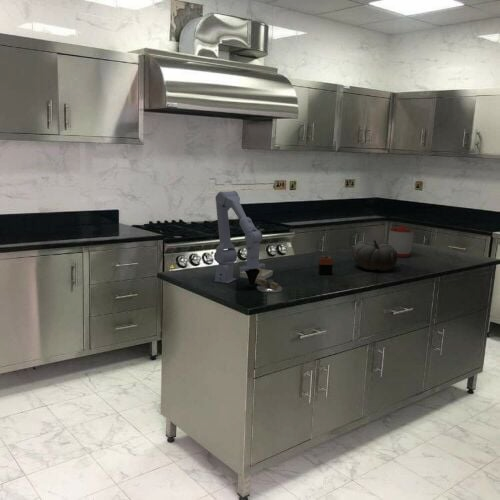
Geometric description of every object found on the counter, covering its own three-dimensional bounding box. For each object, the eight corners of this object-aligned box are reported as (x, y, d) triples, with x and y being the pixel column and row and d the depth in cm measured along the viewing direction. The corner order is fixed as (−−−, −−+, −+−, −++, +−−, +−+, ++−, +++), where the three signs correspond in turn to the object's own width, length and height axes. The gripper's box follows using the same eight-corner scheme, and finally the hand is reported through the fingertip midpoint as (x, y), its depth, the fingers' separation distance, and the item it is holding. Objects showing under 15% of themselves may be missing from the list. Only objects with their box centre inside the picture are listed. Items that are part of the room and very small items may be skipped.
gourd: (342, 259, 316) (350, 231, 312) (377, 265, 326) (386, 237, 322) (363, 274, 294) (372, 243, 290) (401, 279, 303) (410, 250, 299)
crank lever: (278, 288, 254) (279, 281, 254) (274, 289, 252) (274, 282, 252) (256, 281, 265) (256, 274, 265) (251, 282, 263) (251, 275, 263)
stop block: (258, 276, 278) (259, 265, 277) (251, 275, 279) (252, 264, 278) (261, 275, 281) (262, 263, 280) (254, 274, 283) (255, 262, 282)
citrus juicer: (419, 258, 344) (422, 226, 341) (394, 258, 340) (397, 226, 336) (406, 253, 359) (409, 223, 356) (382, 253, 355) (385, 223, 351)
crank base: (277, 293, 249) (277, 291, 249) (253, 290, 253) (253, 288, 253) (285, 287, 260) (285, 286, 260) (262, 284, 264) (262, 282, 264)
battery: (318, 273, 293) (319, 255, 291) (330, 273, 293) (331, 255, 291) (319, 275, 289) (320, 256, 287) (332, 275, 289) (333, 257, 287)
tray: (263, 280, 272) (263, 275, 272) (239, 277, 277) (239, 272, 277) (272, 275, 284) (272, 270, 283) (249, 272, 289) (249, 267, 288)
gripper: (247, 259, 246) (245, 288, 248) (270, 256, 255) (268, 284, 258) (236, 256, 251) (235, 285, 253) (259, 253, 260) (258, 281, 263)
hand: (251, 284), depth 256 cm, fingers closed
